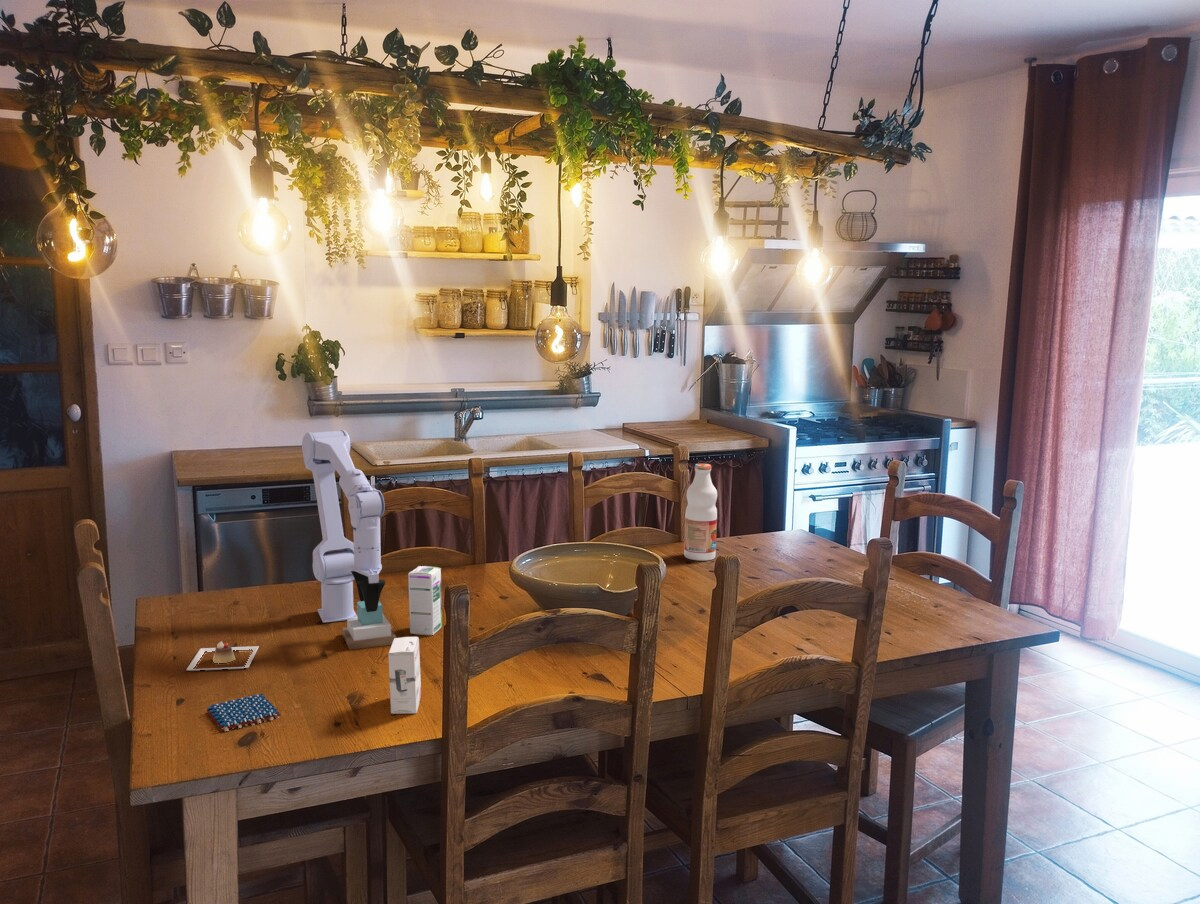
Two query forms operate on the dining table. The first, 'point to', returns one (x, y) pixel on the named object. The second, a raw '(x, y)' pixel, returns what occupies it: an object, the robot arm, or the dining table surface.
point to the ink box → (404, 675)
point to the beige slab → (367, 640)
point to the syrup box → (425, 600)
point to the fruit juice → (701, 516)
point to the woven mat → (242, 712)
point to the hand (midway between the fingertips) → (368, 605)
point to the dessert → (222, 656)
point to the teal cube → (369, 614)
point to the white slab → (368, 629)
